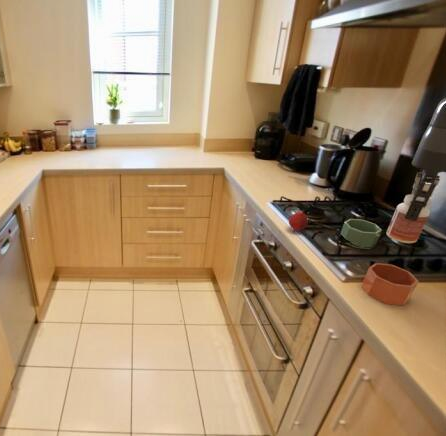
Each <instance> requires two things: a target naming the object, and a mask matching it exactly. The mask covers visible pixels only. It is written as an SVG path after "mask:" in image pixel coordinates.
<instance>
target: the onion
mask: <svg viewBox="0 0 446 436" xmlns="http://www.w3.org/2000/svg"><path fill="white" fill-rule="evenodd" d="M308 223H309V219H308V217H307V215H306V214H305V213H304V212H303V211H302V210H299V211H298V212H295V213H293V214H292V215H290V217H289V218H288V224H289V226H290V228H291V229H292V230H293V231H294V232H299V231H302V230H304V229H306V227H307V226H308Z"/></svg>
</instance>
